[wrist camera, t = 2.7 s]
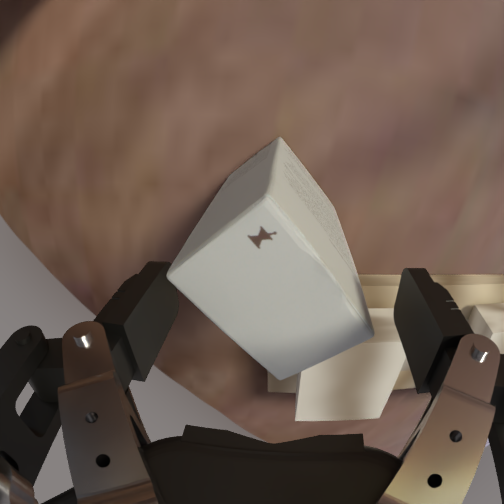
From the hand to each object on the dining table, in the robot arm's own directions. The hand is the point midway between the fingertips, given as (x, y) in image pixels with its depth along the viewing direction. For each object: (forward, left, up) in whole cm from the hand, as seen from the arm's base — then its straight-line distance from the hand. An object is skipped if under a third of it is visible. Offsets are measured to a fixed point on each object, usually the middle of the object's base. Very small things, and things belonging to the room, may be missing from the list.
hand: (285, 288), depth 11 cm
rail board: (+12, -12, -11) cm, 20 cm away
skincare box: (0, 0, -11) cm, 11 cm away
